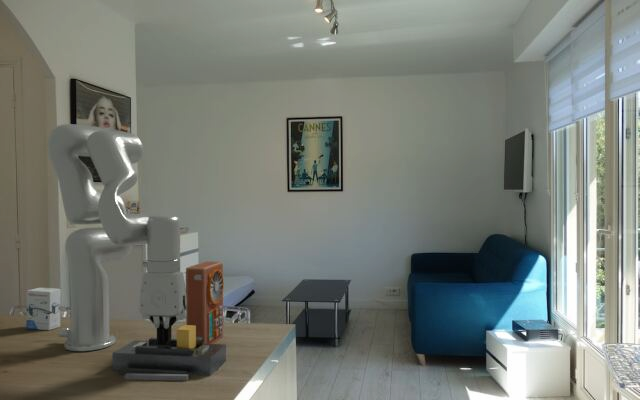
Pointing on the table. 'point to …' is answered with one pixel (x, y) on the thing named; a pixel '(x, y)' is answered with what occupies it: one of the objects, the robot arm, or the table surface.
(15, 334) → the table surface
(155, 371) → the dark grey long bar
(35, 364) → the table surface
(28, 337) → the table surface
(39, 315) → the ink box
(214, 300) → the control panel
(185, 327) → the yellow block
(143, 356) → the slider track
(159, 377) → the grey square bar
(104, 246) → the robot arm
